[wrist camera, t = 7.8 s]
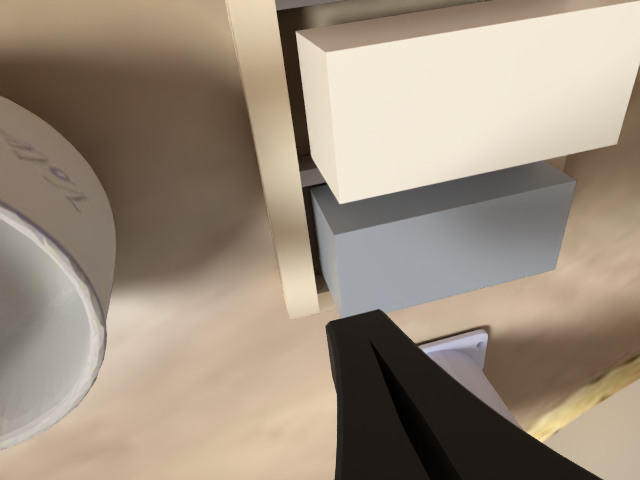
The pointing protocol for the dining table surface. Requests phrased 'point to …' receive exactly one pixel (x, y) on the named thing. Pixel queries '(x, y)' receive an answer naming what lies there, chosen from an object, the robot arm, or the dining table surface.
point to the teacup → (49, 275)
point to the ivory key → (465, 90)
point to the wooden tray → (282, 149)
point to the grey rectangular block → (441, 237)
